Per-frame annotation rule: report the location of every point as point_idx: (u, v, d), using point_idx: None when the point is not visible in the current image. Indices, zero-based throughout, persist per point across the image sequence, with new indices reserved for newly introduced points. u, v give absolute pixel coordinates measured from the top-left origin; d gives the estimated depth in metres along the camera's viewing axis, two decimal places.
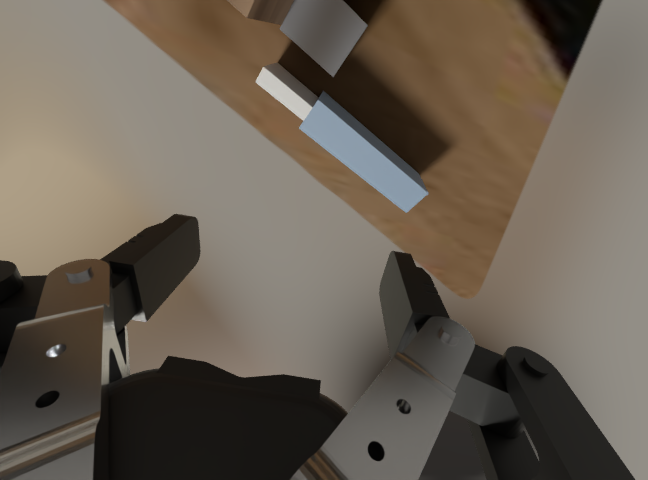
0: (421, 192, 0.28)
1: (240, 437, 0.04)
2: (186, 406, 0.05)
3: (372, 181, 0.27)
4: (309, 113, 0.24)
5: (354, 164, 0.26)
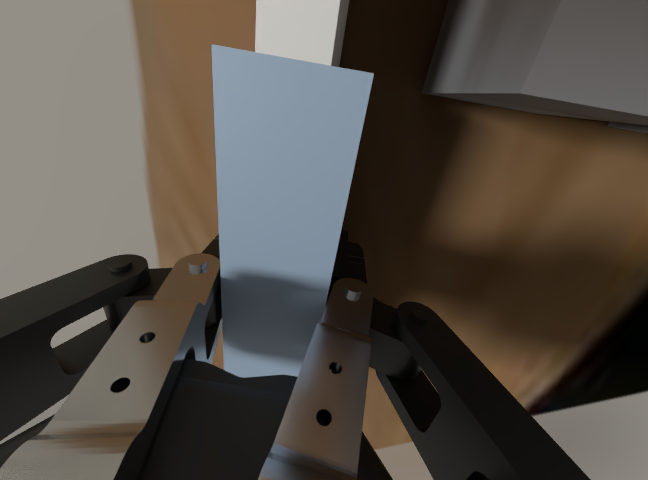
0: None
1: (240, 438, 0.04)
2: (186, 406, 0.05)
3: (236, 360, 0.09)
4: (300, 63, 0.05)
5: (243, 304, 0.08)
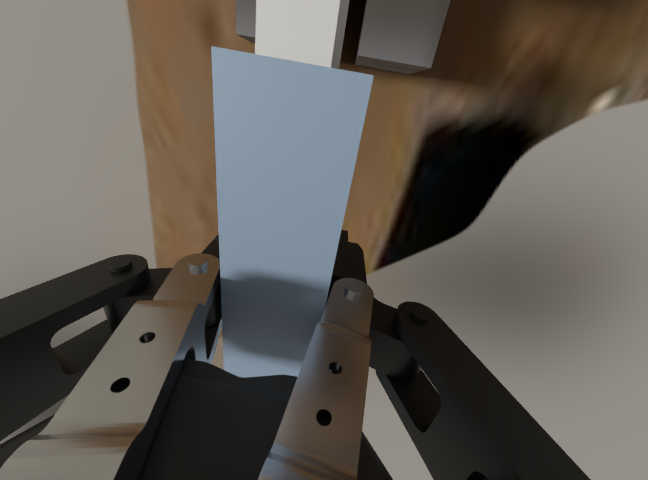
0: None
1: (240, 438, 0.04)
2: (186, 406, 0.05)
3: (236, 361, 0.09)
4: (299, 65, 0.05)
5: (243, 306, 0.08)
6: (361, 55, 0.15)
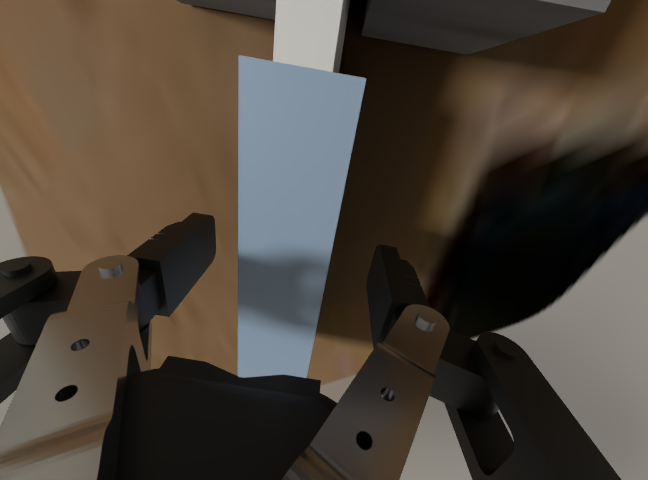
0: None
1: (240, 438, 0.04)
2: (186, 406, 0.05)
3: (248, 326, 0.10)
4: (308, 70, 0.06)
5: (256, 274, 0.09)
6: None
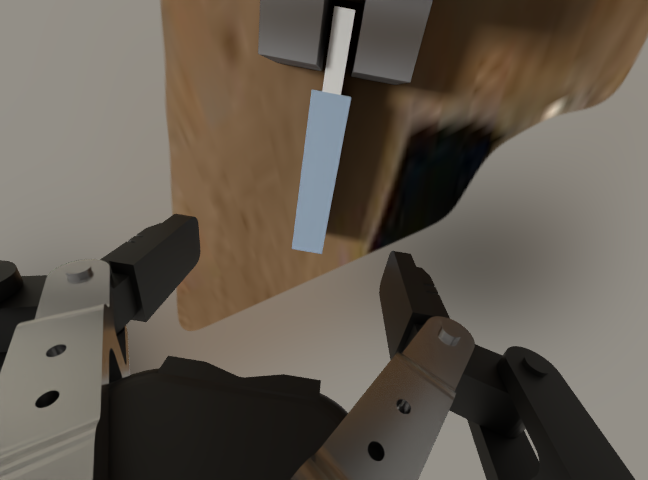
0: (319, 247, 0.27)
1: (240, 438, 0.04)
2: (186, 406, 0.05)
3: (302, 200, 0.24)
4: (333, 94, 0.20)
5: (309, 172, 0.23)
6: (356, 71, 0.19)
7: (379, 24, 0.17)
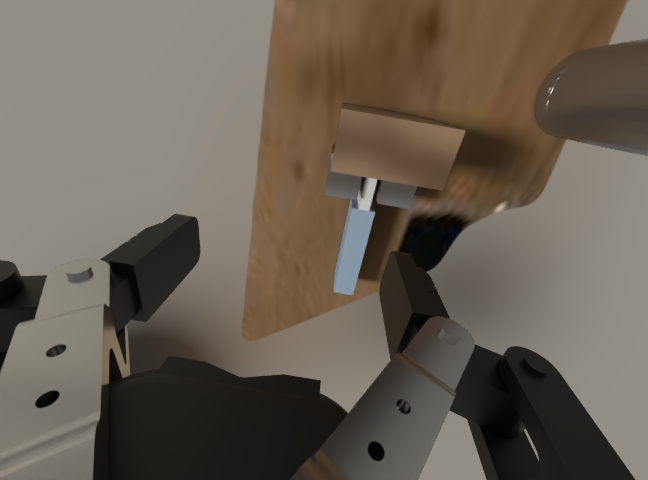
0: (351, 291, 0.41)
1: (240, 437, 0.04)
2: (186, 406, 0.05)
3: (342, 264, 0.39)
4: (364, 210, 0.35)
5: (347, 249, 0.38)
6: (379, 203, 0.33)
7: (392, 183, 0.32)
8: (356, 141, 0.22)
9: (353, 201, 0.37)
